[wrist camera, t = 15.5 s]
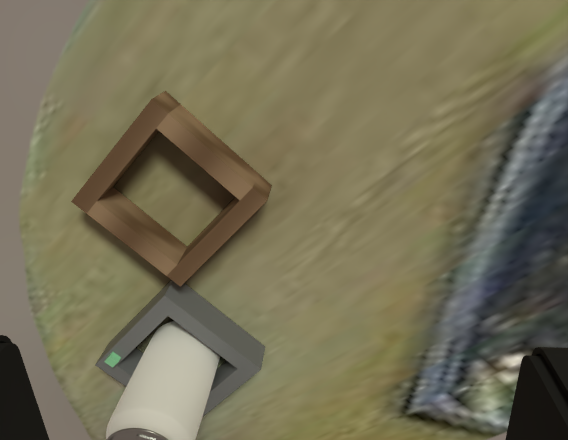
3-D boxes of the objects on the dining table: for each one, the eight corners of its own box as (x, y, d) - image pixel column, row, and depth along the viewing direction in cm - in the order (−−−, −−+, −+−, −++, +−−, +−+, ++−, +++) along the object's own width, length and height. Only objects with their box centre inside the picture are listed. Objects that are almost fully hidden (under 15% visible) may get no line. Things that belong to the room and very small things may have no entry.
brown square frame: (271, 185, 38) (267, 200, 35) (190, 267, 42) (180, 286, 39) (165, 90, 35) (151, 99, 33) (89, 186, 39) (71, 201, 36)
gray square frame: (265, 346, 44) (259, 374, 41) (195, 404, 48) (185, 434, 45) (175, 275, 42) (162, 299, 39) (109, 342, 46) (92, 369, 42)
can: (146, 362, 46) (91, 475, 36) (159, 309, 44) (103, 413, 33) (212, 381, 47) (177, 499, 36) (228, 329, 44) (196, 440, 33)
